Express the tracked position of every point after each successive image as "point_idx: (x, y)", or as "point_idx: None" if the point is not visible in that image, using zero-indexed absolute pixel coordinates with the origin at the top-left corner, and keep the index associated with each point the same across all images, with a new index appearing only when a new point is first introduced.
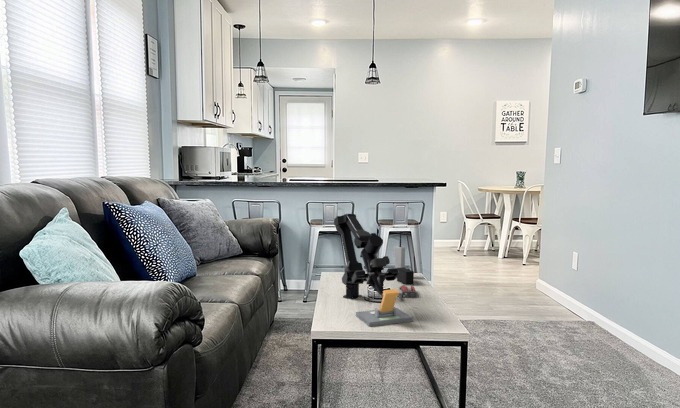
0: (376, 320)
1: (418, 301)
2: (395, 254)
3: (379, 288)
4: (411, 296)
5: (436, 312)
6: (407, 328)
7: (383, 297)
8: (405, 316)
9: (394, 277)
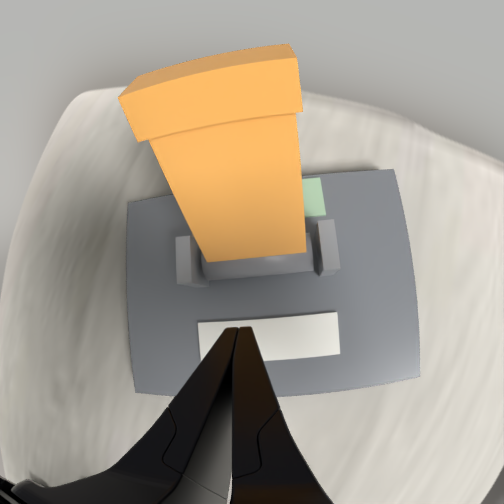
0: (346, 189)
1: (38, 448)
2: None
3: (251, 373)
4: None
5: (21, 300)
6: None
7: (296, 126)
8: (153, 222)
9: (8, 489)
